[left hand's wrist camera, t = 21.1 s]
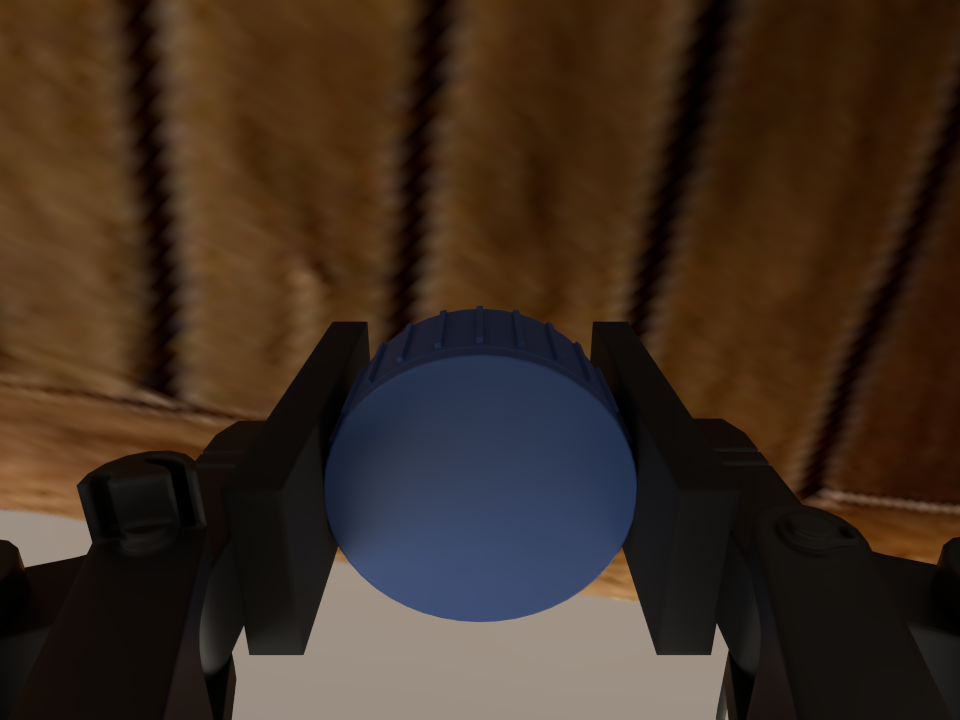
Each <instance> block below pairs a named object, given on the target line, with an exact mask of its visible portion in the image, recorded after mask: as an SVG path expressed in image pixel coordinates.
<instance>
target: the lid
mask: <svg viewBox="0 0 960 720" xmlns="http://www.w3.org/2000/svg"><path fill="white" fill-rule="evenodd" d="M631 444H633V442H632V438H631V436H630V434H629V432H628V429H627V427H626V425H625V423H624V420H623V418H622V416H621V414H620V412H619V409H618V407H617V404H616V402H615V400H614V398H613V396H612V393H611V391H610V389H609V387H608V384H607V382H606V380H605V378H604V376H603V373H602V371H601V369H600V368H599V367H597V368H594V367H593V365H592V363H591V362H590V361H589V360H588V358H587V357H586V356H585V354H584V352H583V349H582V347H581V345H580V344H579V343H578V342H575V343H574V344H573V343H572V342H571V341H570V340H569V339H568V338H566V337H565V336H564V335H562V334H561V333H559V332H558V331H556V330H555V329H554V327H553V324H551V323H549V322H547V324H546V325H545V324H543V323H541V322H539V321H537V320H535V319H532V318H529V317H526V316H523V315H520V313H519V311H517V310H513V313H511V312H506V311H502V310H490V309H483V306H477V309H471V310H460V311H455V312H449V313H447V311H446V310H443V311H440V315H438V316H435V317H431V318H428V319H426V320H424V321H422V322H420V323H417V324H415V325H413V323H410V324H408V325H407V327H406V330H405V331H403V332H402V333H400V334H398V335H397V336H396V337H395V338H393V339H392V340H391V341H390V342H389V343H387V344H385V343H384V342H383V343H382V344H380V345H379V348H378V350H377V352H376V355H375V357H374V358H373V359H372V360H371V362H370V363H369V365H368V366H367V368H366V369H363V368H361V369H360V371H359V373H358V375H357V377H356V379H355V381H354V384H353V386H352V388H351V390H350V392H349V395H348V397H347V399H346V401H345V404H344V406H343V408H342V410H341V414H340V416H339V418H338V421H337V423H336V425H335V427H334V429H333V432H332V434H331V436H330V438H329V441H328V445H329V446H331V447H330V450H329V453H328V457H327V460H326V464H325V471H324V478H323V487H324V498H325V507H326V515H327V519H328V522H329V525H330V528H331V531H332V534H333V536H334V538H335V540H336V542H337V544H338V546H339V548H340V549H341V551H342V552H343V554H344V555H345V557H346V558H347V560H348V561H349V562H350V564H351V565H352V566H353V567H354V568H355V569H356V570H357V571H358V573H359V574H360V575H361V576H362V577H363V578H365V579H366V580H367V581H368V582H369V583H370V584H371V585H373V586H374V587H375V588H376V589H378V590H379V591H381V592H382V593H384V594H385V595H387V596H388V597H390V598H392V599H393V600H395V601H397V602H399V603H401V604H403V605H405V606H407V607H410V608H412V609H415V610H417V611H420V612H422V613H426V614H429V615H433V616H436V617H440V618H446V619H452V620H458V621H470V622H491V621H502V620H509V619H516V618H520V617H524V616H528V615H532V614H535V613H538V612H541V611H543V610H546V609H549V608H552V607H554V606H556V605H558V604H560V603H562V602H564V601H566V600H568V599H569V598H571V597H572V596H574V595H576V594H577V593H579V592H580V591H582V590H583V589H584V588H586V587H587V586H588V585H589V584H591V583H592V582H593V581H594V580H595V579H597V578H598V576H599V575H600V574H601V573H602V572H603V571H604V570H605V569H606V568H607V567H608V566H609V565H610V563H611V562H612V561H613V559H614V558H615V556H616V555H617V554H618V552H619V551H620V549H621V547H622V545H623V543H624V541H625V540H626V538H627V536H628V533H629V530H630V527H631V525H632V522H633V519H634V511H635V502H636V492H637V471H636V465H635V461H634V457H633V453H632V450H631V447H630V445H631Z"/></svg>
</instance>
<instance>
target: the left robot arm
mask: <svg viewBox="0 0 960 720" xmlns="http://www.w3.org/2000/svg"><path fill="white" fill-rule="evenodd" d="M590 362H591V363H592V365H593V367H594V368H597V367H599V368H600V369H601V371H602V373H603V376H604V378H605V380H606V382H607V384H608V387H609V389H610V391H611V393H612V396H613V398H614V400H615V402H616V404H617V407H618V409H619V412H620V414H621V416H622V418H623V420H624V423H625V425H626V427H627V429H628V432H629V434H630V436H631V438H632V442H633V444H631V445H630V447H631V450H632V453H633V457H634V461H635V465H636V471H637V492H636V502H635V511H634V519H633V522H632V525H631V527H630V530H629V533H628V536H627V538H626V540H625V541H624V543H623V545H622V547H623V551H624V554H625V557H626V560H627V563H628V566H629V569H630V572H631V576H632V579H633V582H634V585H635V588H636V591H637V594H638V597H639V601H640V604H641V607H642V610H643V613H644V616H645V619H646V622H647V625H648V629H649V632H650V635H651V638H652V641H653V644H654V647H655V651H656V653H657V655H711V652H712V646H713V640H714V635H715V629H716V624H718V626H719V629H720V631H721V633H722V635H723V638H724V640H725V642H726V644H727V646H728V648H729V651H728V656H727V661H726V667H725V672H724V677H723V682H722V687H721V692H720V697H719V703H718V708H717V715H716V720H725V716H726V711H727V710H728V719H729V720H960V537H956V538H952V539H951V540H950V541H948V542H947V543H946V544H944V545H943V548H942V551H941V554H940V557H939V560H938V563H937V565H934V564H929V563H924V562H919V561H914V560H909V559H904V558H899V557H894V556H889V555H884V554H880V553H877V552H873V551H872V550H871V548H870V546H869V544H868V542H867V541H866V539H865V538H864V537H863V536H862V534H861V533H860V532H859V531H858V529H857V528H855V527H854V526H852V525H851V524H849V523H848V522H846V521H845V520H843V519H842V518H840V517H838V516H836V515H833V514H831V513H829V512H826V511H824V510H822V509H819V508H814V507H810V506H805V505H802V504H801V502H800V501H799V500H798V499H797V497H796V496H795V495H794V494H793V492H792V491H791V490H790V489H789V487H788V486H787V485H786V484H785V482H784V481H783V480H782V479H781V477H780V476H779V475H778V474H777V472H776V471H775V470H774V469H773V467H772V466H769V465H768V461H767V460H766V459H765V457H764V456H763V455H762V454H761V452H758V449H757V447H756V446H755V445H754V444H753V443H752V441H751V440H750V439H749V438H748V436H747V435H746V434H745V433H744V432H743V431H741V430H739V429H738V428H736V427H735V426H733V425H731V424H730V423H728V422H726V421H725V420H723V419H693V418H692V417H691V415H690V414H689V412H688V411H687V409H686V408H685V406H684V405H683V403H682V402H681V400H680V399H679V397H678V396H677V394H676V393H675V391H674V390H673V389H672V387H671V386H670V384H669V383H668V381H667V380H666V378H665V377H664V375H663V374H662V372H661V371H660V369H659V368H658V366H657V365H656V363H655V362H654V360H653V359H652V357H651V356H650V354H649V353H648V351H647V350H646V348H645V347H644V345H643V344H642V343H641V341H640V340H639V338H638V337H637V335H636V334H635V332H634V331H633V329H632V328H631V326H630V325H629V323H628V322H593V330H592V344H591V359H590ZM369 363H370V353H369V339H368V324H367V322H332V324H331V325H330V327H329V328H328V330H327V331H326V333H325V334H324V336H323V337H322V339H321V340H320V342H319V343H318V345H317V346H316V348H315V349H314V351H313V352H312V353H311V355H310V356H309V358H308V359H307V361H306V362H305V364H304V365H303V367H302V368H301V370H300V371H299V373H298V374H297V376H296V377H295V379H294V380H293V382H292V383H291V385H290V386H289V388H288V389H287V391H286V392H285V394H284V395H283V397H282V398H281V400H280V401H279V402H278V404H277V405H276V407H275V408H274V410H273V411H272V413H271V414H270V416H269V417H268V419H267V420H266V421H238V422H236V423H234V424H233V425H231V426H230V427H228V428H226V429H225V430H223V431H221V432H220V433H218V434H217V435H216V436H215V437H214V438H213V439H212V441H211V442H210V443H209V444H208V446H207V447H206V448H205V449H204V451H203V454H201V455H200V456H199V457H198V458H197V460H196V461H194V460H193V459H192V458H190V457H189V456H188V455H186V454H183V453H178V452H174V451H148V452H143V453H138V454H133V455H128V456H125V457H122V458H119V459H117V460H114V461H111V462H108V463H106V464H104V465H102V466H101V467H99V468H97V469H95V470H94V471H92V472H90V473H89V474H87V475H86V476H85V477H84V478H83V479H82V481H81V482H80V483H79V484H78V485H77V489H78V492H79V496H80V500H81V503H82V507H83V510H84V514H85V518H86V521H87V525H88V528H89V532H90V535H91V539H92V545H91V547H90V549H89V551H88V553H87V555H83V556H80V557H76V558H71V559H66V560H61V561H56V562H51V563H46V564H41V565H36V566H31V567H26V568H24V565H23V562H22V559H21V556H20V553H19V550H18V548H17V547H16V546H14V545H13V544H12V543H11V542H9V541H6V540H0V720H232V712H233V703H234V695H235V686H236V673H235V667H234V661H233V656H232V651H233V648H234V646H235V644H236V642H237V639H238V637H239V635H240V633H241V631H242V628H243V626H244V627H245V633H246V638H247V644H248V649H249V655H304V652H305V649H306V645H307V642H308V639H309V636H310V633H311V630H312V627H313V624H314V620H315V617H316V614H317V611H318V608H319V605H320V602H321V599H322V595H323V592H324V589H325V586H326V583H327V580H328V577H329V573H330V570H331V567H332V564H333V561H334V558H335V555H336V552H337V549H338V544H337V542H336V540H335V538H334V536H333V534H332V531H331V528H330V525H329V522H328V519H327V515H326V507H325V498H324V487H323V478H324V471H325V464H326V460H327V457H328V453H329V450H330V447H331V446H329V445H328V441H329V438H330V436H331V434H332V432H333V429H334V427H335V425H336V423H337V421H338V418H339V416H340V414H341V410H342V408H343V406H344V404H345V401H346V399H347V397H348V395H349V392H350V390H351V388H352V386H353V384H354V381H355V379H356V377H357V375H358V373H359V371H360V369H361V368H363V369H366V368H367V366H368V365H369Z"/></svg>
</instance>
